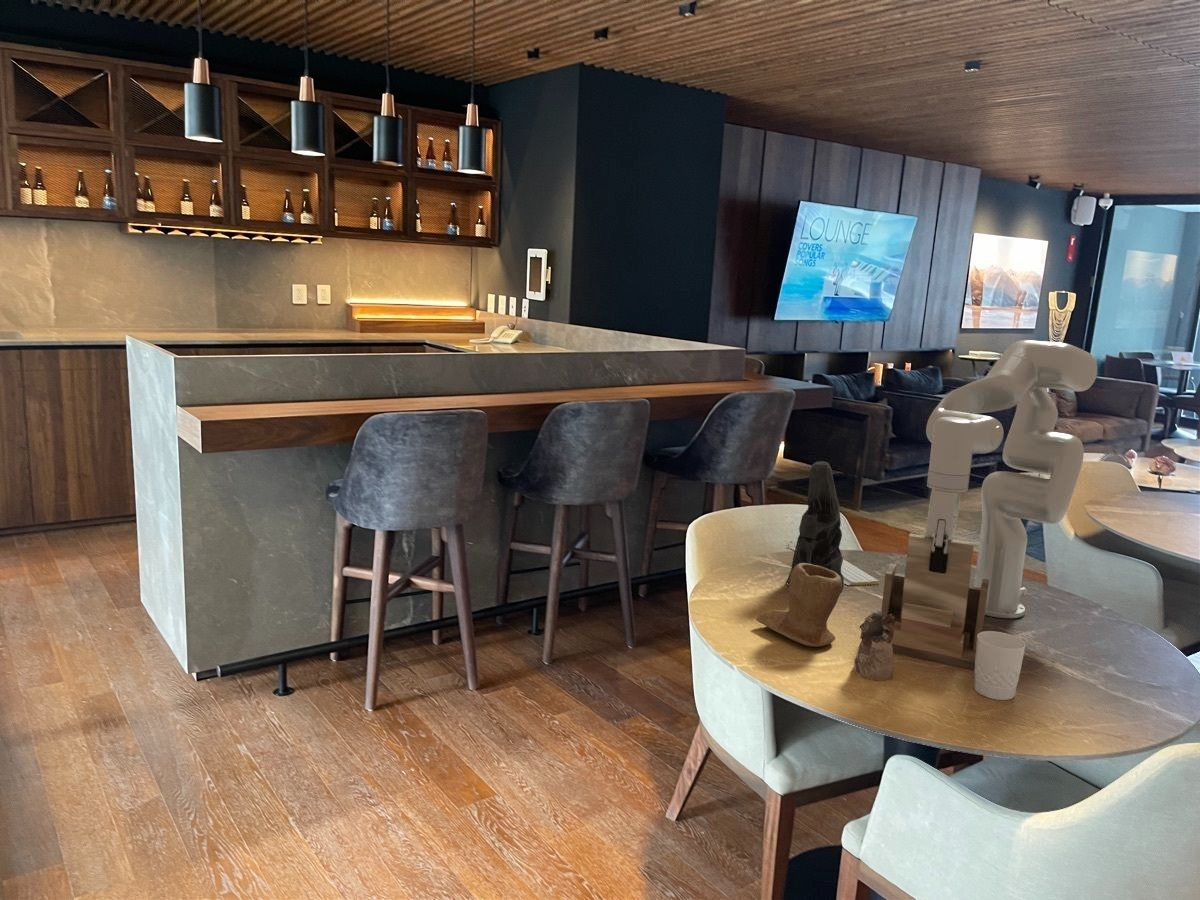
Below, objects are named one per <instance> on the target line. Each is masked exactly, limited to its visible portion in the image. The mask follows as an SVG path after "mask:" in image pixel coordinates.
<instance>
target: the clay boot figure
mask: <svg viewBox="0 0 1200 900" xmlns="http://www.w3.org/2000/svg"><path fill="white" fill-rule="evenodd" d="M790 572H791V571H790ZM841 589H842V580H841V577H840V576H839V575H838V574H837V573H836V572H834V571H832V570H829V569H827V568H824V567H821V566H817V565H813V564H808V563H799V564H798V565H796V566H795V567H794V569H793V570H792V572H791V576H790V582H789V585H788V599H789V602H788V603H789V605H788V606H789V607H788V611H787V610H781V609H770V610H766V611H764V612H762V613H760V614H758V615H757V617H756V621H757V622H758V623H760V624H762V625H764V626H766V627H767V628H769V629H770V630H772V631H774V632H776V633H778V634H780V635H782V636H784V637H786V638H787V639H790V640H791V641H794V642H797V643H799V644H801V645H804V646H807V647H813V648H814V647H815V648H816V647H823V646H828V645H830V644H832V643H833V642H834V641H835V639H836V636H835V635H834V633H832V632H831V630H829V629H828V625H827V624H828V620H829V617H830V615H831V614H832V612H833V610H834V609H835V606H836V605H837V602H838V600H839V597H840V596H841V593H842V591H841ZM842 590H843V589H842Z"/></svg>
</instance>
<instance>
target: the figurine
mask: <svg viewBox="0 0 1200 900" xmlns="http://www.w3.org/2000/svg"><path fill="white" fill-rule="evenodd" d="M893 619H894V616H893V615H892V614H890V615H888V616H886V617H885V618H884V617H883V614H882V612H881V611H880V610H875V611H873V612H871V613H870V614H868V615H867V616H866V617H865V618H864V621H863V623H861V624H860V625H859V629H860V631H861V632H860V637H859V638H860V639H861V641H860V643H859V646H858V649H857V653H856V656H855V659H854V662H853V667H852V670H853V671H854V672H855V675H857V676H859V677H860V678H863V679H867V680H871V681H884V680H885V681H886V680H889V679H891V678H892V676H893V673H894V670H895V669H894V668H895V663H894V662H895V661H894V660H895V659H894V653H893V649H892V644H891V640H892V638H893V635H894V629H893V626H892V625H891V623H890V621H892V620H893ZM884 630H888V631H889V632H890V636H888V635H887V634H885V633H884V632H883V631H884Z"/></svg>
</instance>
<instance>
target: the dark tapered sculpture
mask: <svg viewBox="0 0 1200 900" xmlns="http://www.w3.org/2000/svg"><path fill="white" fill-rule="evenodd" d="M807 505H808V506H807V509H806V511H805V512H804V513H803V514H802V516H801V518H800V519H801V520H800V524H799V528H798V530H799V531H798V532H799V535H798V537H797V539H796V544H795V545H796V548H795V551H794V553H793V557H792V563H791V569H790V572H789V573H788V577H787V579H786V582H787V583H788V584H789V582H790V576H791V572H792V570H793V569H794V567H795V566H796V565H798V564H799V563H808V564H813V565H817V566H821V567H824V568H827V569H829V570H832V571H834V572H836V573H837V574H838V575H839V576H840V577H841V580H842V589H841V592H842V591H843V589H844V585H845V584H844V576H843V575H842V573H841V566H842V562H843V559H844V558H843V555H842V552H841V549H840V546H841V541H842V537H843V533H842V530H841V524H842V523H841V509H840V502H839V500H838V496H837V491H836V485H835V481H834V477H833V470H832V467H831V465H830V463H829V462H828V461H824V460H822V461H815V462H813V464H812V466H811V468H810V471H809V482H808V489H807ZM787 583H786V584H787Z"/></svg>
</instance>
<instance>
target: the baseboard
mask: <svg viewBox="0 0 1200 900" xmlns="http://www.w3.org/2000/svg"><path fill="white" fill-rule="evenodd" d="M790 544H792V541H790V543H788V545H786V547H787V549H791V550H792V552H793V551H794V552H795V548H796V544H793V545H792V546H790ZM841 573H842V575H843V576H844V583H845V584H846V585H859V586H873V584H874V585H876V586H877V585H880V580H879V579H876V578H875V577H874V576H872V575H870V574H868V573H867V572H866V571H863V570H862V569H860V568H859V567H857V566H855V565H853V564H852V563H850V562H848V561H847V560H845V559H844V558H843V562H842V566H841ZM845 584H844V585H845ZM865 584H866V585H865ZM868 584H869V585H868ZM870 584H871V585H870ZM846 585H845V586H846Z"/></svg>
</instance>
